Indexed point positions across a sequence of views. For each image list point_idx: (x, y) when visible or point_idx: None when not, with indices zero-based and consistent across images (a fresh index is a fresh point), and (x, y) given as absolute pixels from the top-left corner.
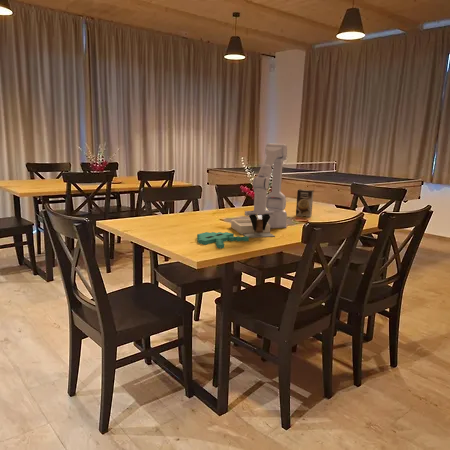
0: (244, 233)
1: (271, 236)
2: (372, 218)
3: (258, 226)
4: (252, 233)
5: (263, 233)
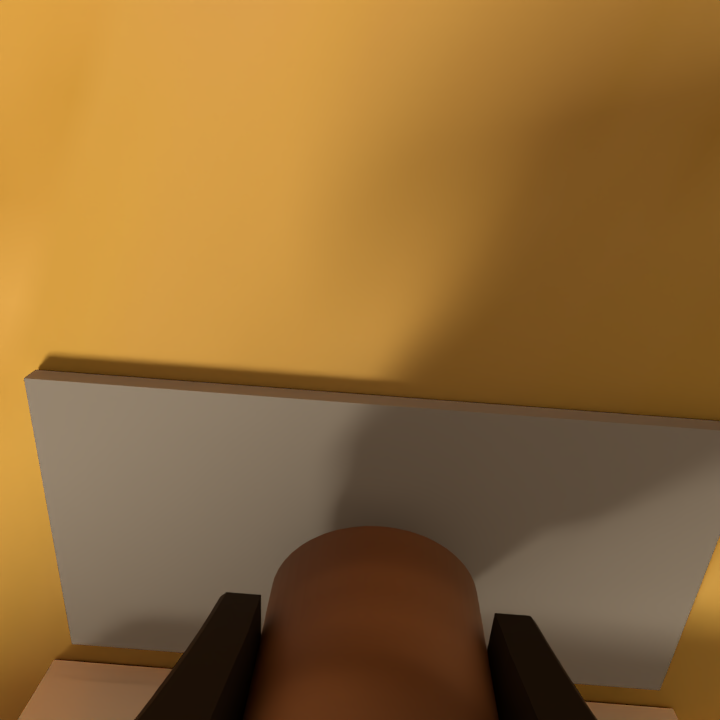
0: (590, 709)
1: (120, 379)
2: None
3: (443, 703)
4: None
5: None
